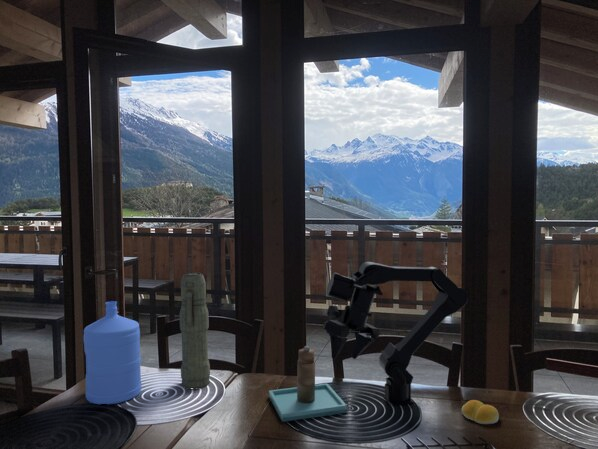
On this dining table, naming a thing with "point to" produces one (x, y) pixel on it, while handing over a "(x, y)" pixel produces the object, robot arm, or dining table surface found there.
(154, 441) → the dining table surface
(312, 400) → the pepper mill
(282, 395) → the teal tray
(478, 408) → the bread roll
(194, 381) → the thermos
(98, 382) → the water jug
